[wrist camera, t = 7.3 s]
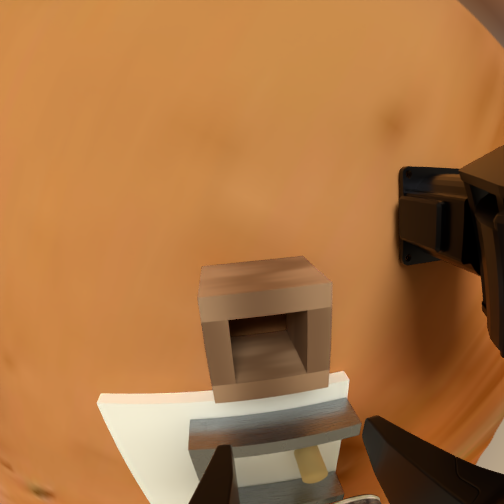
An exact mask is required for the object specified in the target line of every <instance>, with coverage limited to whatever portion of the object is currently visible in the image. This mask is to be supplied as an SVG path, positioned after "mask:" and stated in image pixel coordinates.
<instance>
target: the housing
mask: <svg viewBox="0 0 504 504" xmlns="http://www.w3.org/2000/svg"><path fill="white" fill-rule="evenodd" d="M360 428H361V421H360V420H359V418H358V416H357V415H356V413H355V411H354V409H353V408H352V406H351V404H350V403H349V401H348V399H347V398H346V397H345V398H340V399H336V400H332V401H327V402H322V403H318V404H313V405H307V406H302V407H296V408H291V409H285V410H278V411H272V412H265V413H257V414H249V415H241V416H231V417H220V418H208V419H191V420H190V425H189V442H188V451H189V454H190V457H191V460H192V463H193V466H194V468H195V471H196V474H197V477H198V479H199V482H200V480H201V478H202V476H203V474H204V472H205V470H206V468H207V466H208V464H209V462H210V460H211V458H212V456H213V454H214V452H215V450H216V448H217V446H218V445H222V444H230V445H231V446H232V451H233V456H234V458H241V457H250V456H258V455H265V454H272V453H279V452H285V451H290V450H296V449H301V448H306V447H311V446H316V445H320V444H325V443H329V442H333V441H337V440H341V439H345V438H349V437H352V436H356V435H359V433H360ZM238 491H239V499H240V504H329V503H332V502H336V501H340V500H343V497H344V492H343V489H342V487H341V484H340V482H339V480H338V477H337V475H336V473H335V471H331V472H328V475H327V477H326V478H324V479H323V480H321V481H319V482H316V483H311V484H308V483H304V482H303V481H302V478H300V479H294V480H289V481H283V482H277V483H271V484H264V485H256V486H247V487H238Z"/></svg>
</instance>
